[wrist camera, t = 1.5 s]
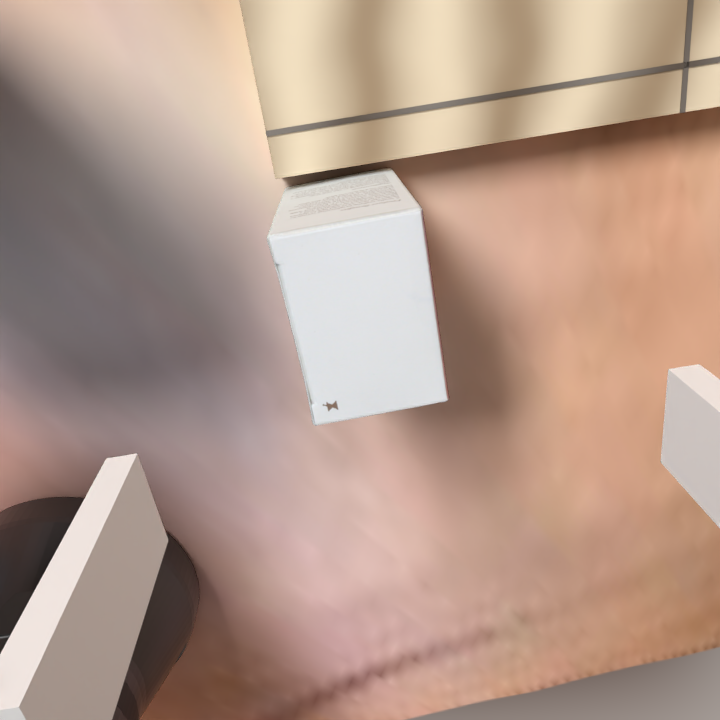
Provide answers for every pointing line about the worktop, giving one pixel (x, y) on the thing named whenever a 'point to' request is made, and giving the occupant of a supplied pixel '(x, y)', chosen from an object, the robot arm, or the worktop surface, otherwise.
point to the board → (468, 72)
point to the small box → (359, 295)
